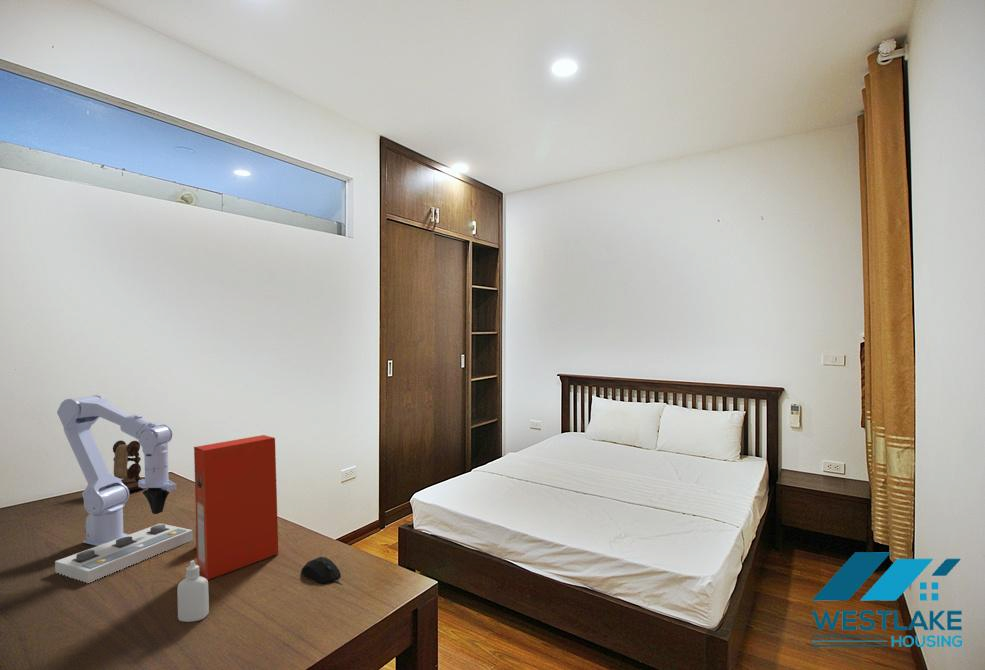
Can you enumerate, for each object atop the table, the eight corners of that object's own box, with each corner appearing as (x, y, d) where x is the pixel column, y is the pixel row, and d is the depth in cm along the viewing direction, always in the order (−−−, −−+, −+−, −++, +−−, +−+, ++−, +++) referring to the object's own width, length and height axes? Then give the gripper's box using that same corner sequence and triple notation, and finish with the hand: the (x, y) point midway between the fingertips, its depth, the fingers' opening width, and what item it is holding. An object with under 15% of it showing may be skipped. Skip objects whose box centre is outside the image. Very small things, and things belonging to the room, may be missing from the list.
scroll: (94, 495, 183) (92, 444, 183) (129, 483, 198) (128, 436, 198) (126, 496, 181) (124, 445, 181) (159, 484, 195) (158, 436, 195)
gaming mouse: (330, 592, 109) (330, 575, 109) (296, 574, 118) (296, 558, 118) (353, 580, 114) (353, 564, 114) (319, 563, 123) (318, 548, 123)
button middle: (113, 548, 130) (112, 540, 130) (127, 542, 133) (127, 535, 133) (120, 550, 128) (120, 542, 128) (135, 544, 132) (135, 537, 132)
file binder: (197, 570, 120) (194, 446, 120) (265, 546, 133) (262, 434, 133) (208, 580, 115) (205, 450, 115) (278, 554, 128) (275, 438, 128)
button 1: (73, 562, 121) (73, 555, 121) (90, 556, 125) (89, 549, 125) (81, 565, 120) (81, 557, 120) (97, 558, 123) (97, 551, 123)
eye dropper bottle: (196, 608, 103) (195, 554, 103) (211, 615, 100) (210, 559, 100) (175, 619, 99) (173, 563, 99) (190, 626, 96) (189, 568, 96)
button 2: (147, 535, 138) (147, 528, 138) (160, 530, 141) (160, 523, 141) (155, 536, 136) (155, 530, 136) (168, 532, 140) (168, 525, 140)
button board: (55, 572, 121) (55, 560, 121) (160, 533, 145) (160, 522, 145) (88, 583, 115) (88, 570, 115) (192, 540, 139) (192, 529, 139)
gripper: (126, 468, 138) (127, 514, 138) (157, 473, 132) (158, 520, 132) (152, 462, 145) (153, 506, 145) (182, 466, 139) (183, 512, 139)
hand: (157, 512), depth 139 cm, fingers closed
